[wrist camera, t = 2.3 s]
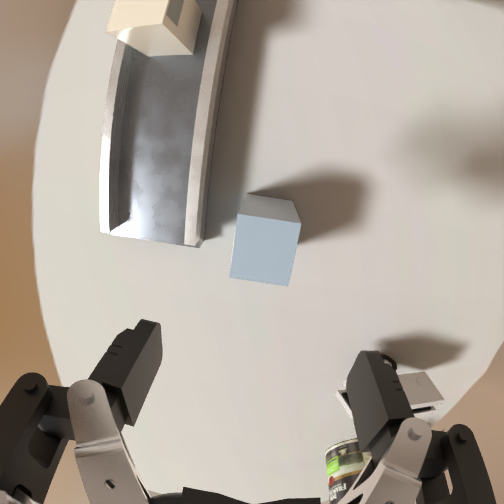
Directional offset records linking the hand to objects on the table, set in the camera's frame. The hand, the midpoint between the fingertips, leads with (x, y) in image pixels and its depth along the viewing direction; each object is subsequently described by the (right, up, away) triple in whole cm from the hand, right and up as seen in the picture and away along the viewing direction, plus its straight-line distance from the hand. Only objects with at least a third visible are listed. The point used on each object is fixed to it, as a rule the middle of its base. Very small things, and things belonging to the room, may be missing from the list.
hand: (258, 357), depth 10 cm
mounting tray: (-8, +19, +13) cm, 24 cm away
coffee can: (+20, -37, +34) cm, 54 cm away
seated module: (-7, +24, +9) cm, 27 cm away
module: (+1, +7, +17) cm, 19 cm away
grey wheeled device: (+25, -15, +21) cm, 36 cm away
